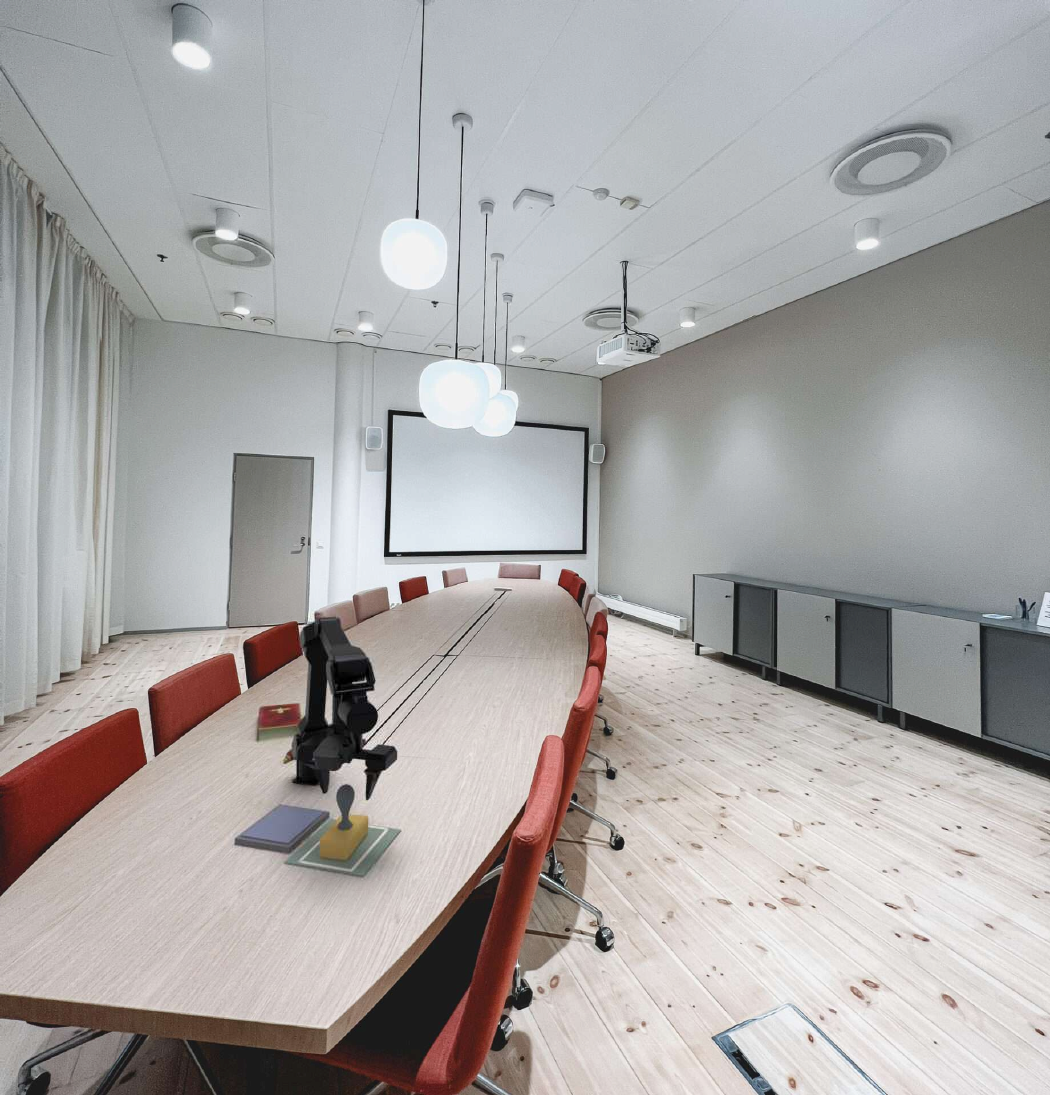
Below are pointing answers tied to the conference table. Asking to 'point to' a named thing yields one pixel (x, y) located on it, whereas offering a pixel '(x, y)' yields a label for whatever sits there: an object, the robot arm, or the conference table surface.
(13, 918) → the conference table surface
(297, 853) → the marking board
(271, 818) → the ink pad
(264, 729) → the hardcover book
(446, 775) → the conference table surface
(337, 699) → the robot arm
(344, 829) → the rubber stamp
